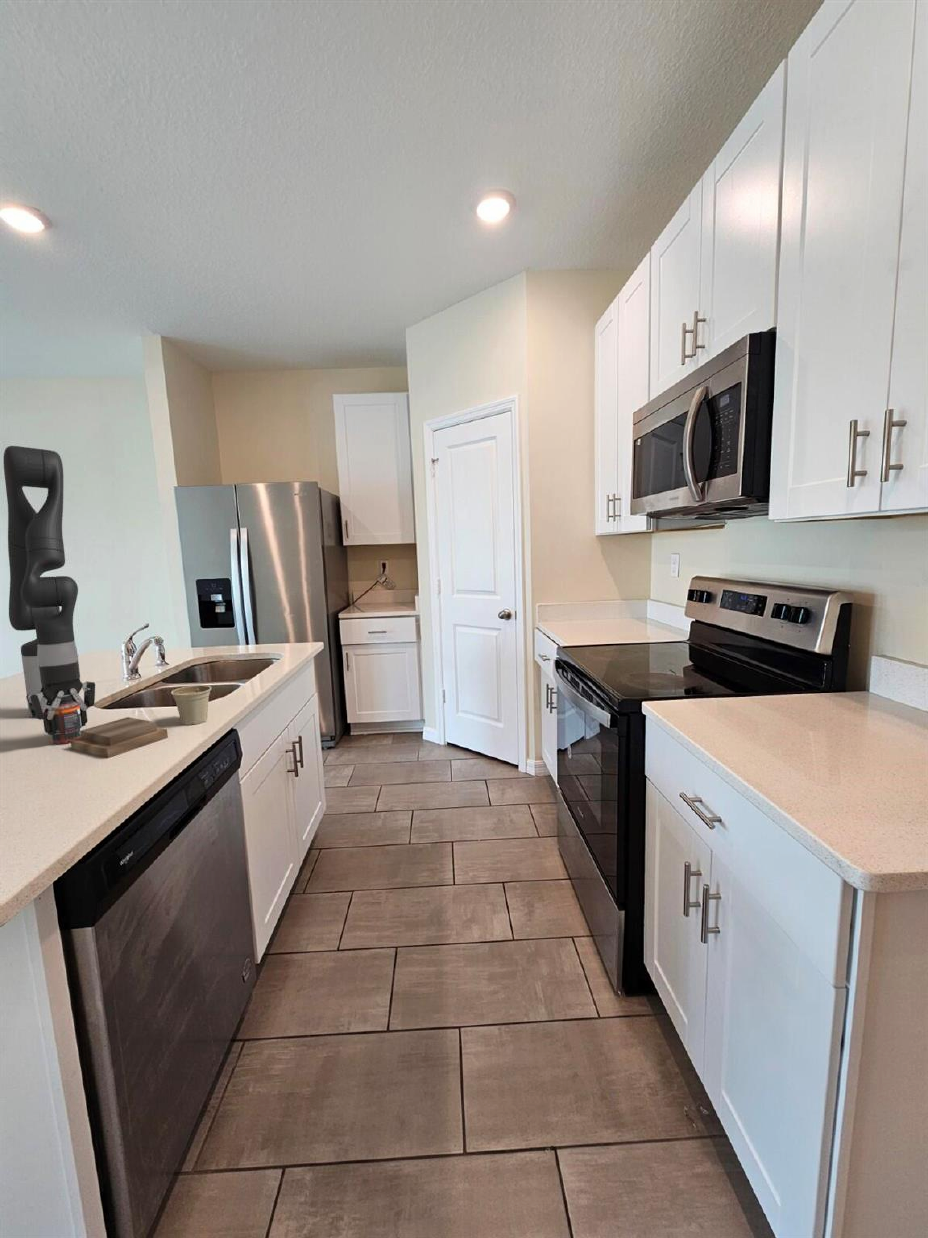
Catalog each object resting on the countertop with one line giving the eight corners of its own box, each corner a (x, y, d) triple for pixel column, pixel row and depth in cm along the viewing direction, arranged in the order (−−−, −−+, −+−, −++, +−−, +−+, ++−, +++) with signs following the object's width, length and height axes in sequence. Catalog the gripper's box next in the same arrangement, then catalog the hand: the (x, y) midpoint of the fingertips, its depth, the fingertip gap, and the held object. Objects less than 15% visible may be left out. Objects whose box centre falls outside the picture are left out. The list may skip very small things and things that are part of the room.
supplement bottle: (89, 736, 133) (84, 691, 131) (69, 745, 127) (63, 698, 125) (67, 736, 133) (61, 691, 132) (46, 744, 127) (40, 698, 126)
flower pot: (203, 727, 138) (200, 694, 137) (166, 727, 138) (163, 694, 137) (220, 716, 147) (217, 685, 146) (186, 716, 147) (183, 685, 146)
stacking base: (71, 748, 124) (69, 732, 124) (131, 730, 137) (130, 714, 136) (108, 758, 118) (106, 740, 117) (167, 737, 130) (166, 721, 130)
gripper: (82, 654, 135) (89, 719, 138) (14, 666, 123) (23, 737, 125) (99, 656, 132) (107, 723, 134) (32, 668, 119) (41, 742, 122)
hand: (67, 729), depth 130 cm, fingers closed on supplement bottle, 6 cm apart
